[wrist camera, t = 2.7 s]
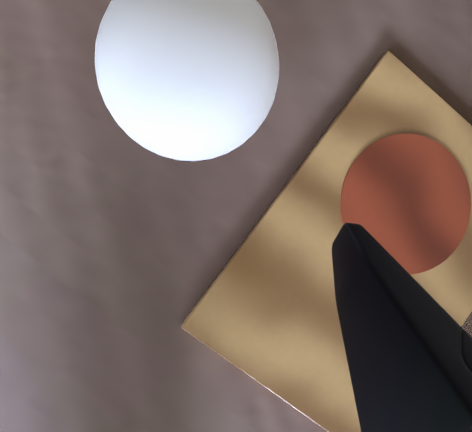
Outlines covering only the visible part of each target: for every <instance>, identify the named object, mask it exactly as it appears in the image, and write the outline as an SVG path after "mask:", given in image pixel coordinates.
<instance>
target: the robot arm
mask: <svg viewBox="0 0 472 432" xmlns="http://www.w3.org/2000/svg"><path fill="white" fill-rule="evenodd" d="M332 262H333V275H334V288H335V299H336V306H337V311H338V316H339V321H340V327H341V332H342V337H343V342H344V347H345V352H346V357H347V362H348V367H349V372H350V377H351V383H352V388H353V393H354V398H355V403H356V408H357V413H358V418H359V423H360V428H361V432H472V337H471V336H470V335H469V334H468V333H467V332H466V331H465V330H462V327H461V326H460V325H459V324H458V323H457V322H456V321H455V320H454V319H453V318H452V317H451V316H450V315H449V314H448V313H447V312H446V311H445V310H444V309H443V308H442V307H441V306H440V305H439V304H438V303H437V302H436V301H435V300H434V299H433V298H432V296H431V295H430V294H429V293H428V292H427V291H426V290H425V289H424V288H423V287H422V286H421V285H420V284H419V283H418V282H417V281H416V280H415V279H414V278H413V277H412V276H411V275H410V274H409V273H408V272H407V271H406V270H405V269H404V268H403V267H402V266H401V265H400V264H399V263H398V262H397V261H396V260H395V259H394V258H393V257H392V256H391V255H390V254H389V253H388V252H387V251H386V250H385V249H384V247H383V246H382V245H381V244H380V243H379V242H378V241H377V240H376V239H375V238H374V237H373V236H372V235H371V234H370V233H369V232H368V231H367V230H366V229H365V228H364V227H363V226H362V225H360V224H355V223H345V224H343V226H342V227H341V229H340V231H339V233H338V234H337V236H336V238H335V240H334V241H333V244H332Z"/></svg>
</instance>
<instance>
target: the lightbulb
mask: <svg viewBox="0 0 472 432" xmlns="http://www.w3.org/2000/svg"><path fill="white" fill-rule="evenodd" d="M95 70H96V76H97V82H98V87H99V90H100V92H101V95H102V98H103V100H104V103H105V105H106V107H107V108H108V110H109V111H110V113H111V115H112V116H113V118H114V119H115V121H116V122H117V124H118V125H119V126H120V127H121V128H122V129H123V130H124V131H125V132H126V134H127V135H128V136H129V137H130V138H132V139H133V140H134V141H136V142H137V143H138V144H140V145H141V146H142V147H144V148H146V149H148V150H150V151H152V152H154V153H156V154H158V155H160V156H164V157H168V158H172V159H175V160H185V161H199V160H207V159H213V158H215V157H218V156H221V155H224V154H227V153H229V152H230V151H232V150H234V149H235V148H237V147H239V146H241V145H242V144H243V143H244V142H245V141H246V140H247V139H249V138H250V137H251V136H252V135H253V134H254V133H255V132H256V131H257V129H258V128H259V127H260V125H261V124H262V123H263V121H264V120H265V118H266V117H267V115H268V113H269V111H270V108H271V106H272V104H273V102H274V98H275V94H276V89H277V85H278V80H279V56H278V49H277V43H276V38H275V35H274V32H273V30H272V27H271V24H270V21H269V19H268V18H267V16H266V14H265V12H264V10H263V9H262V7H261V5H260V4H259V3H258V2H257V1H256V0H112V1H111V2H110V4H109V6H108V8H107V10H106V12H105V14H104V16H103V18H102V21H101V23H100V26H99V30H98V34H97V38H96V42H95Z"/></svg>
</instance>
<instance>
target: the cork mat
mask: <svg viewBox="0 0 472 432" xmlns="http://www.w3.org/2000/svg"><path fill="white" fill-rule="evenodd" d="M345 223H355V224H360V225H362V226H363V227H364V228H365V229H366V230H367V231H368V232H369V233H370V234H371V235H372V236H373V237H374V238H375V239H376V240H377V241H378V242H379V243H380V244H381V245H382V246H383V247H384V249H385V250H386V251H387V252H388V253H389V254H390V255H391V256H392V257H393V258H394V259H395V260H396V261H397V262H398V263H399V264H400V265H401V266H402V267H403V268H404V269H405V270H406V271H407V272H408V273H409V274H410V275H411V276H412V277H413V278H414V279H415V280H416V281H417V282H418V283H419V284H420V285H421V286H422V287H423V288H424V289H425V290H426V291H427V292H428V293H429V294H430V295H431V296H432V298H433V299H434V300H435V301H436V302H437V303H438V304H439V305H440V306H441V307H442V308H443V309H444V310H445V311H446V312H447V313H448V314H449V315H450V316H451V317H452V318H453V319H454V320H455V321H456V322H457V323H458V324H459V325H460V326H461V327H462V325H463V324H464V322H465V321H466V319H467V318H468V316H469V315H470V313H471V312H472V125H471V124H470V123H468V122H467V121H466V120H465V119H464V118H463V117H462V116H461V115H460V114H458V113H457V112H456V111H455V110H454V109H453V108H452V107H451V106H450V105H449V104H447V103H446V102H445V101H444V100H443V99H442V98H441V97H440V96H439V95H437V94H436V93H435V92H434V91H433V90H432V89H431V88H430V87H429V86H428V85H426V84H425V83H424V82H423V81H422V80H421V79H420V78H419V77H418V76H416V75H415V74H414V73H413V72H412V71H411V70H410V69H409V68H408V67H406V66H405V65H404V64H403V63H402V62H401V61H400V60H399V59H398V58H397V57H395V56H394V55H393V54H392V53H391V52H390V51H387V52H386V53H384V54H383V56H382V57H381V58H380V60H379V61H378V62H377V64H376V65H375V66H374V68H373V69H372V70H371V72H370V73H369V74H368V76H367V77H366V78H365V80H364V81H363V82H362V84H361V85H360V86H359V88H358V89H357V91H356V92H355V93H354V95H353V96H352V97H351V99H350V100H349V101H348V103H347V104H346V105H345V107H344V108H343V109H342V111H341V112H340V113H339V115H338V116H337V117H336V119H335V120H334V121H333V123H332V124H331V125H330V127H329V128H328V129H327V131H326V132H325V133H324V135H323V136H322V137H321V139H320V140H319V141H318V143H317V144H316V145H315V147H314V148H313V149H312V151H311V152H310V153H309V155H308V156H307V157H306V159H305V160H304V161H303V163H302V164H301V165H300V167H299V168H298V169H297V171H296V172H295V173H294V175H293V176H292V177H291V179H290V180H289V181H288V183H287V184H286V185H285V187H284V188H283V189H282V191H281V192H280V193H279V195H278V196H277V197H276V199H275V200H274V201H273V203H272V204H271V205H270V207H269V208H268V209H267V211H266V212H265V213H264V215H263V216H262V217H261V219H260V220H259V221H258V223H257V224H256V225H255V227H254V228H253V229H252V231H251V232H250V233H249V235H248V236H247V237H246V239H245V240H244V241H243V243H242V244H241V245H240V247H239V248H238V249H237V251H236V252H235V253H234V255H233V256H232V257H231V259H230V260H229V261H228V263H227V264H226V265H225V267H224V268H223V269H222V271H221V272H220V273H219V275H218V276H217V277H216V279H215V280H214V282H213V283H212V284H211V286H210V287H209V288H208V290H207V291H206V292H205V294H204V295H203V296H202V298H201V299H200V300H199V302H198V303H197V304H196V306H195V307H194V308H193V310H192V311H191V312H190V314H189V315H188V316H187V318H186V319H185V320H184V322H183V323H182V324H181V328H182V329H184V330H185V331H187V332H188V333H189V334H191V335H192V336H194V337H195V338H196V339H198V340H199V341H201V342H202V343H204V344H205V345H206V346H208V347H209V348H211V349H212V350H213V351H215V352H216V353H218V354H219V355H220V356H222V357H223V358H225V359H226V360H228V361H229V362H230V363H232V364H233V365H235V366H236V367H237V368H239V369H240V370H242V371H243V372H244V373H246V374H247V375H249V376H250V377H251V378H253V379H254V380H256V381H257V382H259V383H260V384H261V385H263V386H264V387H266V388H267V389H268V390H270V391H271V392H273V393H274V394H275V395H277V396H278V397H280V398H281V399H282V400H284V401H285V402H287V403H288V404H290V405H291V406H292V407H294V408H295V409H297V410H298V411H299V412H301V413H302V414H304V415H305V416H306V417H308V418H309V419H311V420H312V421H314V422H315V423H316V424H318V425H319V426H321V427H322V428H323V429H325V430H326V431H328V432H361V428H360V423H359V418H358V413H357V408H356V403H355V398H354V393H353V388H352V383H351V377H350V372H349V367H348V362H347V357H346V352H345V347H344V342H343V337H342V332H341V327H340V321H339V316H338V311H337V306H336V299H335V288H334V275H333V262H332V244H333V241H334V240H335V238H336V236H337V234H338V233H339V231H340V229H341V227H342V226H343V224H345Z"/></svg>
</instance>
